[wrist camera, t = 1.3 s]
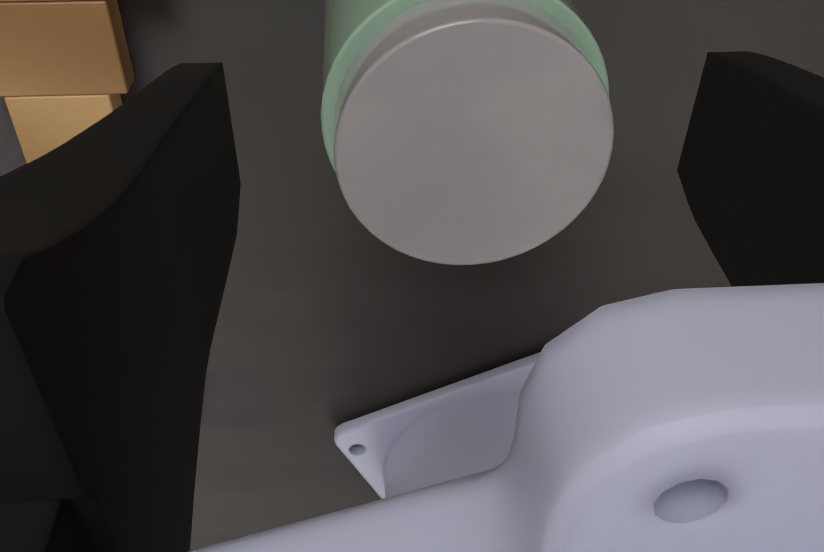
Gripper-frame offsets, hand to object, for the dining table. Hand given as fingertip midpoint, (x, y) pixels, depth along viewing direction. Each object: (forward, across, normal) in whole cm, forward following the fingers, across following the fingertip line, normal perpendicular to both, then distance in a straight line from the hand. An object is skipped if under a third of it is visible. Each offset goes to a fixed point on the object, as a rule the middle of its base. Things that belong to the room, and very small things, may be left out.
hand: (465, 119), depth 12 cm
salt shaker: (+6, 0, 0) cm, 6 cm away
